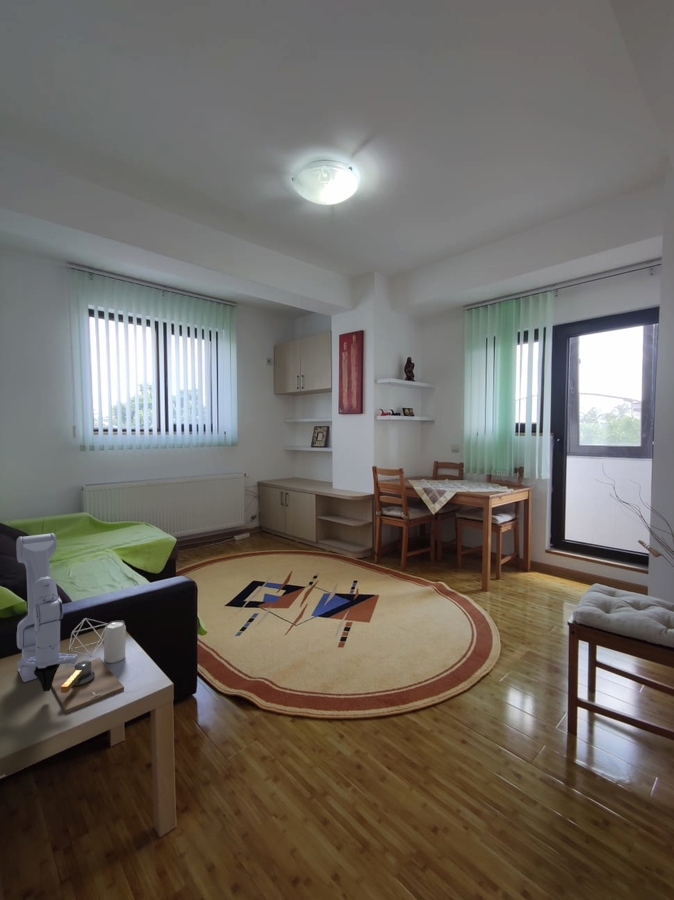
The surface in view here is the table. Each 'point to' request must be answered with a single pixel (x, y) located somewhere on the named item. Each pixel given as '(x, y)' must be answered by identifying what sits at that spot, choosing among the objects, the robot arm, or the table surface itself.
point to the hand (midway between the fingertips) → (47, 689)
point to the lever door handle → (79, 676)
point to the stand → (86, 686)
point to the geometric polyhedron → (87, 644)
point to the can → (114, 641)
